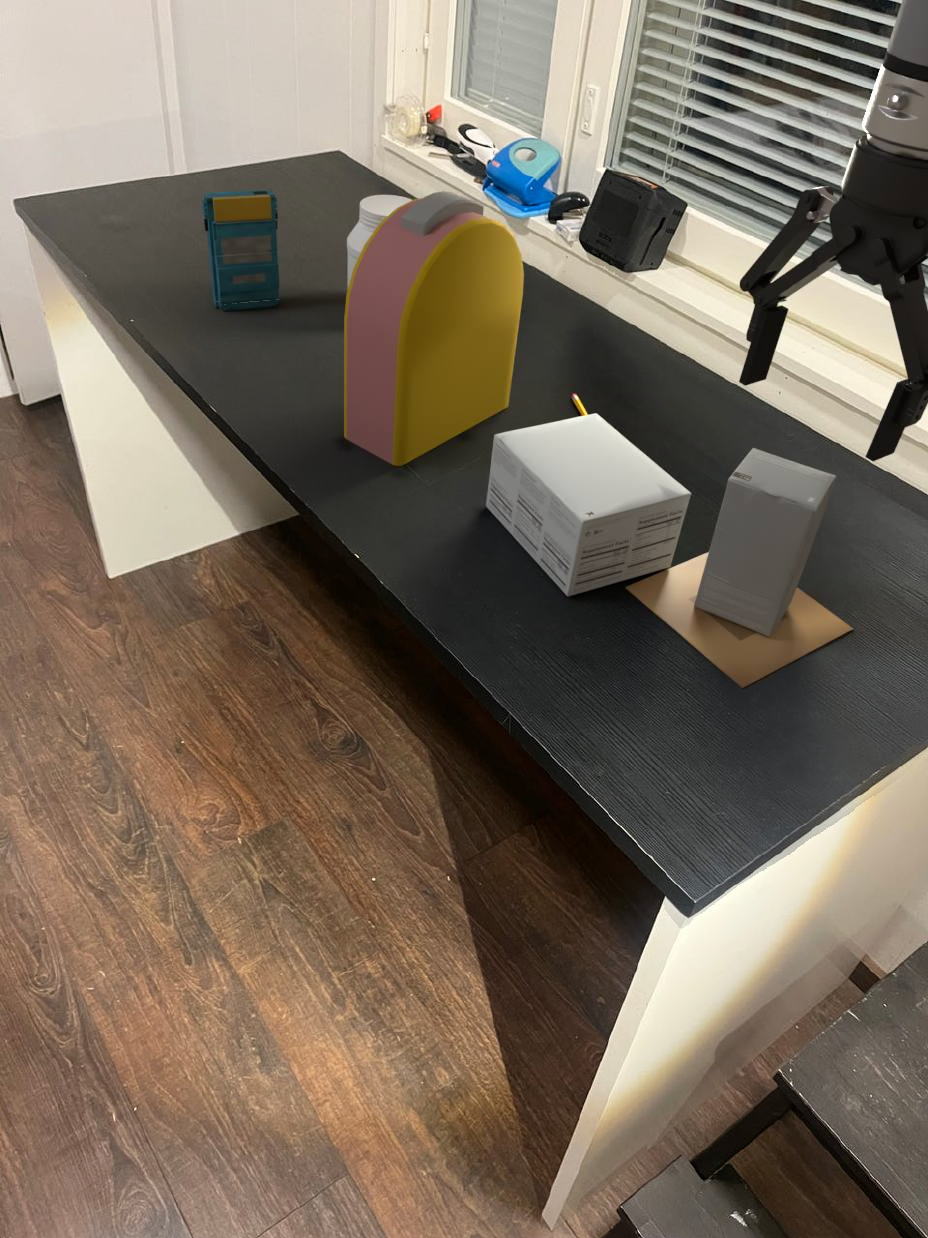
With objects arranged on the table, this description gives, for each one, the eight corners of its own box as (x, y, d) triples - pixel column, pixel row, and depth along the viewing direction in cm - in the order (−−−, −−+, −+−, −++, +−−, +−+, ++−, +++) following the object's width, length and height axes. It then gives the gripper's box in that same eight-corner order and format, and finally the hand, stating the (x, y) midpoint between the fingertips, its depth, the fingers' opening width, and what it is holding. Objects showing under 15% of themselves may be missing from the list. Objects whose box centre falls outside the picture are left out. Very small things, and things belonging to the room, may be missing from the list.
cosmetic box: (790, 606, 95) (846, 473, 85) (767, 645, 91) (823, 510, 80) (711, 572, 98) (756, 440, 88) (685, 609, 94) (729, 473, 83)
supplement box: (673, 568, 98) (695, 492, 92) (566, 600, 93) (582, 522, 87) (583, 481, 109) (598, 409, 103) (483, 506, 104) (492, 431, 97)
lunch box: (456, 378, 124) (474, 165, 107) (510, 405, 120) (539, 188, 103) (341, 436, 112) (340, 205, 94) (398, 467, 108) (409, 232, 90)
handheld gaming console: (277, 295, 138) (273, 188, 128) (285, 308, 135) (281, 199, 125) (210, 301, 135) (200, 191, 125) (216, 314, 132) (206, 203, 122)
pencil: (576, 398, 124) (577, 393, 123) (608, 454, 114) (609, 449, 114) (570, 398, 123) (571, 393, 123) (602, 454, 114) (603, 449, 113)
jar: (374, 334, 132) (377, 224, 122) (334, 308, 137) (334, 200, 127) (438, 315, 138) (446, 209, 128) (397, 291, 143) (402, 187, 133)
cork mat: (853, 629, 94) (853, 628, 94) (742, 688, 86) (742, 687, 86) (734, 541, 103) (734, 540, 103) (625, 587, 95) (625, 587, 95)
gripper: (743, 99, 71) (677, 361, 85) (1052, 210, 57) (911, 504, 71) (808, 93, 75) (734, 345, 89) (1115, 195, 60) (968, 478, 74)
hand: (812, 416), depth 80 cm, fingers open, 13 cm apart
